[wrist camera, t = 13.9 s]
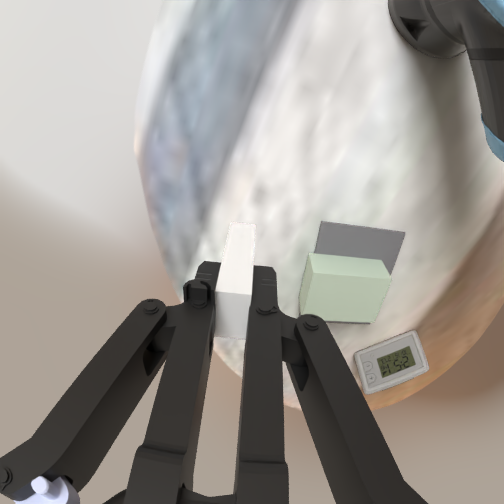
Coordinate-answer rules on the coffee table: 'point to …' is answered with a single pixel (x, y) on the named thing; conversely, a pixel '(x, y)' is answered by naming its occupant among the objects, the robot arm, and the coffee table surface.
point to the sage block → (343, 288)
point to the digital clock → (391, 362)
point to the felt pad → (359, 245)
